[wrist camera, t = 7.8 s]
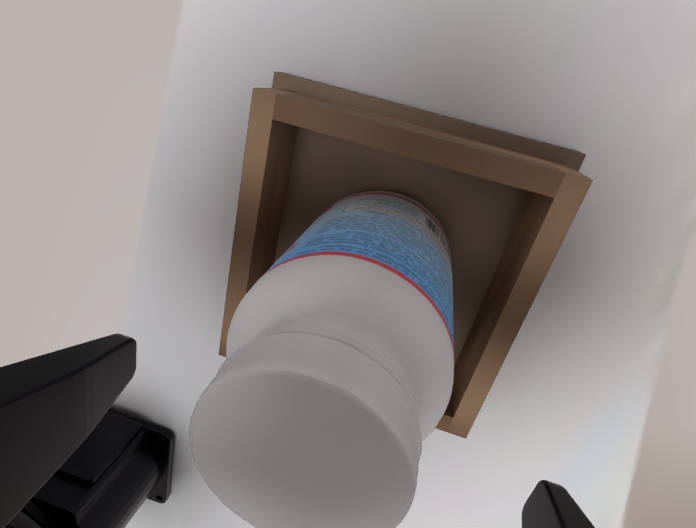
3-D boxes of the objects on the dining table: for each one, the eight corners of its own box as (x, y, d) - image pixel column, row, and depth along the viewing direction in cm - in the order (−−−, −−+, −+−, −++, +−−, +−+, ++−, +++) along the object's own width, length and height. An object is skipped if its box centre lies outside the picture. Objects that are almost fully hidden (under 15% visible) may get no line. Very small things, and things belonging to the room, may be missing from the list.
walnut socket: (468, 391, 21) (473, 450, 17) (244, 317, 22) (207, 360, 18) (579, 151, 16) (617, 168, 12) (281, 72, 17) (240, 67, 13)
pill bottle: (306, 187, 18) (117, 318, 8) (455, 187, 16) (468, 345, 6) (317, 313, 20) (183, 545, 10) (448, 322, 19) (450, 600, 8)
